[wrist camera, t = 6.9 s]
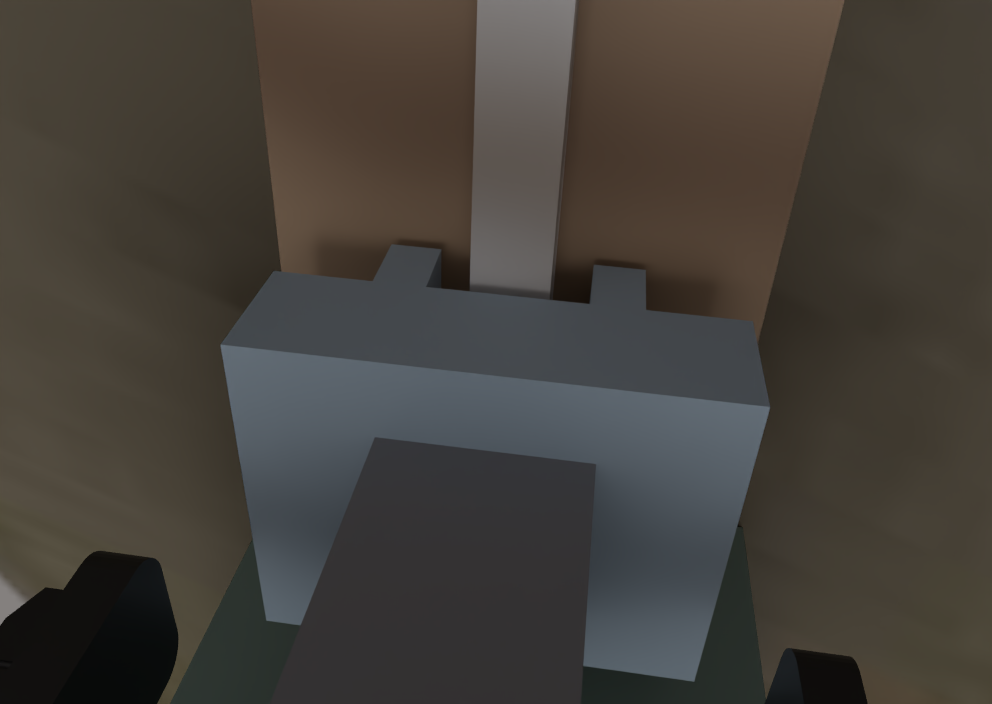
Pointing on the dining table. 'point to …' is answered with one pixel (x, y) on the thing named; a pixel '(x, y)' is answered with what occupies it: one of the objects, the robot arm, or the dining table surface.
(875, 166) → the dining table surface
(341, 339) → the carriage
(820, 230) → the dining table surface
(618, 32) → the rail stand
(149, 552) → the dining table surface
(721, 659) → the cabinet
